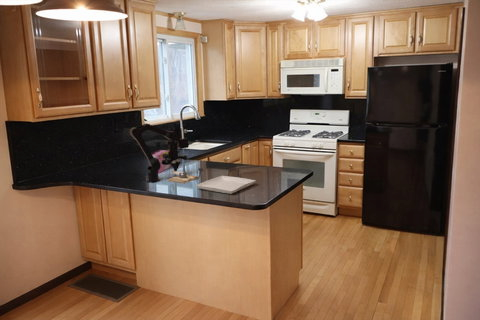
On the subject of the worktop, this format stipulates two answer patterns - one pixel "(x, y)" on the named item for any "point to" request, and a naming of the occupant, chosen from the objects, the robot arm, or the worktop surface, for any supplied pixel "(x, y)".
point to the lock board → (183, 179)
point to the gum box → (160, 157)
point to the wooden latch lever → (180, 174)
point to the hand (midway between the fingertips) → (175, 171)
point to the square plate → (226, 184)
